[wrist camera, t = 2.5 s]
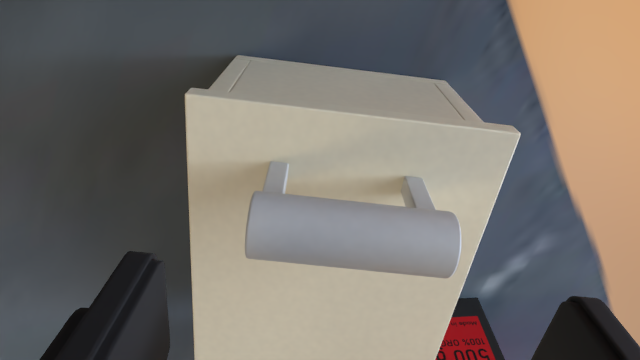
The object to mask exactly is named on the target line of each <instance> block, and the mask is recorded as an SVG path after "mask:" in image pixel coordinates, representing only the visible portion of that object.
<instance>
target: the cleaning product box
mask: <svg viewBox="0 0 640 360" xmlns="http://www.w3.org/2000/svg"><path fill="white" fill-rule="evenodd" d="M435 360H505V359H504V357H503V355H502V352H501V350H500V348H499V345H498V343H497V341H496V339H495V336H494V334H493V332H492V330H491V327H490V325H489V323H488V321H487V318H486V316H485V314H484V311H483V309H482V307H481V305H480V302H479V300H478V298H470V299H458V301H457V304H456V306H455V309H454V312H453V314H452V317H451V320H450V322H449V325H448V327H447V330H446V333H445V335H444V338H443V341H442V343H441V346H440V348H439V351H438V354H437V356H436V359H435Z"/></svg>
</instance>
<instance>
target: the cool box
mask: <svg viewBox="0 0 640 360" xmlns="http://www.w3.org/2000/svg"><path fill="white" fill-rule="evenodd" d="M208 90H216V91H224V92H233V93H241V94H250V95H258V96H266V97H275V98H283V99H291V100H300V101H308V102H317V103H325V104H333V105H342V106H350V107H359V108H367V109H375V110H384V111H392V112H400V113H409V114H417V115H426V116H434V117H442V118H451V119H459V120H468V121H476V122H483V121H482V120H481V119H480V118H479V117H478V116H477V115H476V114H475V112H474V111H473V110H472V109H471V108H470V107H469V106H468V105H467V104H466V103H465V102H464V101H463V100H462V98H461V97H460V96H459V95H458V94H457V93H456V92H455V91H454V90H453V89H452V88H451V87H450V86H449V84H448V83H447V82H446V81H444V80H436V79H428V78H419V77H411V76H403V75H395V74H387V73H379V72H371V71H363V70H355V69H347V68H339V67H331V66H322V65H314V64H306V63H298V62H290V61H282V60H274V59H266V58H258V57H250V56H242V55H237V56H236V57H235V58H234V59H233V61H232V62H231V63H230V64H229V65H228V66H227V68H226V69H225V70H224V71H223V72H222V74H221V75H220V76H219V77H218V78H217V80H216V81H215V82H214V83H213V84H212V85H211V87H210V88H209V89H208Z"/></svg>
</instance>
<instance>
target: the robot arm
mask: <svg viewBox="0 0 640 360" xmlns="http://www.w3.org/2000/svg"><path fill="white" fill-rule="evenodd" d="M169 348H170V335H169V321H168V307H167V293H166V279H165V265H164V262H163V261H157V257H156V255H155V254H153V253H143V252H133V251H129V252H127V253H126V254H125V255H124V257H123V258H122V260H121V261H120V263H119V264H118V266H117V267H116V269H115V270H114V272H113V273H112V275H111V276H110V278H109V279H108V281H107V282H106V284H105V285H104V287H103V288H102V290H101V291H100V293H99V294H98V296H97V297H96V298H95V300H94V301H93V303H92V304H91V306H90V307H89V308H79V309H78V310H76V311H75V312H74V313H73V314H72V315H71V316H70V318H69V319H68V321H67V322H66V323H65V325H64V326H63V328H62V329H61V330H60V332H59V333H58V335H57V336H56V337H55V339H54V340H53V342H52V343H51V344H50V346H49V347H48V349H47V350H46V351H45V353H44V354H43V356H42V357H41V359H40V360H167V357H168V353H169ZM531 360H640V347H639V345H638V344H637V343H636V342H635V340H634V339H633V338H632V337H631V336H630V334H629V333H628V332H627V331H626V329H625V328H624V327H623V326H622V324H621V323H620V322H619V321H618V319H617V318H616V317H615V316H614V314H613V313H612V312H611V311H610V310H609V308H608V307H607V306H606V305H605V303H604V302H602V301H601V300H599V299H597V298H588V297H578V296H572V297H570V298H568V300H567V301H566V302H563V303H561V305H560V306H559V308H558V310H557V312H556V314H555V316H554V317H553V319H552V321H551V323H550V325H549V327H548V329H547V331H546V333H545V334H544V336H543V338H542V340H541V342H540V344H539V346H538V348H537V350H536V351H535V353H534V355H533V357H532V359H531Z"/></svg>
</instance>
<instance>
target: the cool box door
mask: <svg viewBox="0 0 640 360" xmlns="http://www.w3.org/2000/svg"><path fill="white" fill-rule="evenodd" d="M185 117H186V144H187V170H188V197H189V223H190V250H191V277H192V303H193V330H194V356H195V360H435V359H436V356H437V354H438V351H439V348H440V346H441V343H442V341H443V338H444V335H445V333H446V330H447V327H448V325H449V322H450V320H451V317H452V314H453V312H454V309H455V306H456V304H457V301H458V298H459V296H460V293H461V291H462V288H463V285H464V283H465V280H466V277H467V275H468V272H469V269H470V267H471V264H472V262H473V259H474V256H475V254H476V251H477V248H478V246H479V243H480V240H481V238H482V235H483V233H484V230H485V227H486V225H487V222H488V219H489V217H490V214H491V212H492V209H493V206H494V204H495V201H496V198H497V196H498V193H499V190H500V188H501V185H502V183H503V180H504V177H505V175H506V172H507V169H508V167H509V164H510V161H511V159H512V156H513V154H514V151H515V148H516V146H517V143H518V140H519V138H520V132H518V131H517V130H516V129H515V128H514V127H513V126H509V125H501V124H493V123H484V122H476V121H468V120H459V119H451V118H442V117H434V116H426V115H417V114H409V113H400V112H392V111H384V110H375V109H367V108H359V107H350V106H342V105H333V104H325V103H317V102H308V101H300V100H291V99H283V98H275V97H266V96H258V95H250V94H241V93H233V92H224V91H216V90H208V89H199V88H190V89H189V90H188V91H187V92H186V93H185Z"/></svg>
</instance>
